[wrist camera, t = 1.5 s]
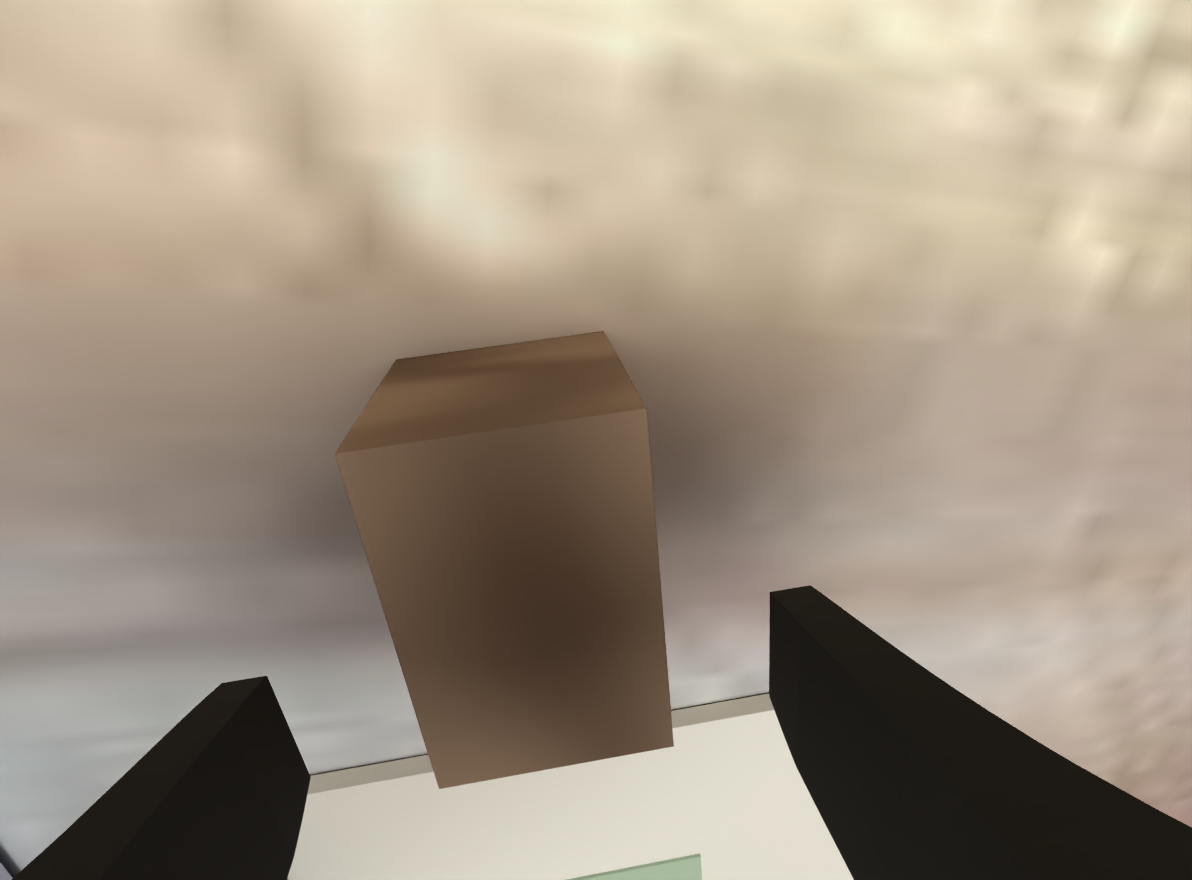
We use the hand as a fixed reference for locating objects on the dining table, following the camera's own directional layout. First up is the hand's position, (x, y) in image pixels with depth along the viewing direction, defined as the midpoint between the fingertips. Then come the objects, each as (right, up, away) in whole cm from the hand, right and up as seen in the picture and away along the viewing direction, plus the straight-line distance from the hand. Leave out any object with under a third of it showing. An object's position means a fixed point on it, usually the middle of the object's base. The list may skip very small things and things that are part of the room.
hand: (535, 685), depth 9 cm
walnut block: (-1, +2, +6) cm, 7 cm away
